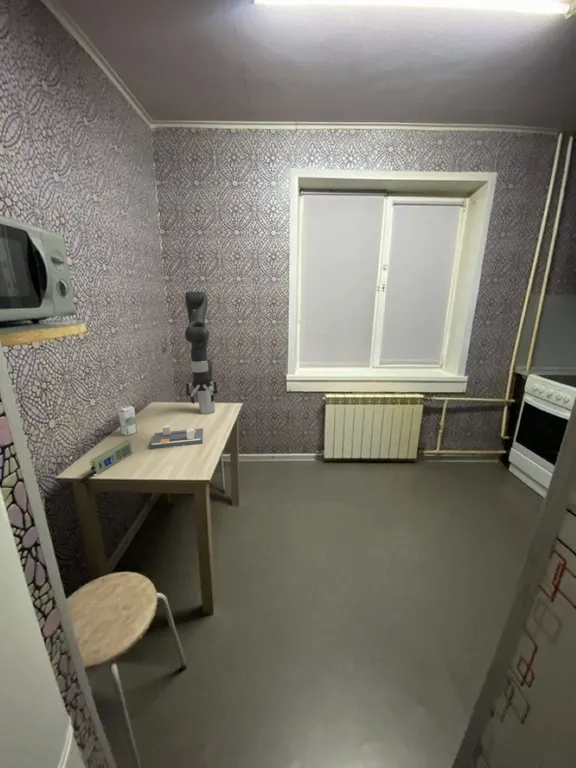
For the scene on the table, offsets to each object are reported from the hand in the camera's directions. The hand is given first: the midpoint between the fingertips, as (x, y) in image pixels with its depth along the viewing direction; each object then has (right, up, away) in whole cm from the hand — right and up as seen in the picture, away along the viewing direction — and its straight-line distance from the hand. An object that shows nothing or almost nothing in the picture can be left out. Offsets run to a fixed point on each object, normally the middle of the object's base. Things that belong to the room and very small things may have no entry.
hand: (202, 402), depth 153 cm
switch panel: (-14, -19, +6) cm, 24 cm away
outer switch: (-7, -17, +3) cm, 19 cm away
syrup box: (-43, -17, +15) cm, 48 cm away
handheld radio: (-35, -26, -19) cm, 47 cm away
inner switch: (-20, -16, +8) cm, 27 cm away
